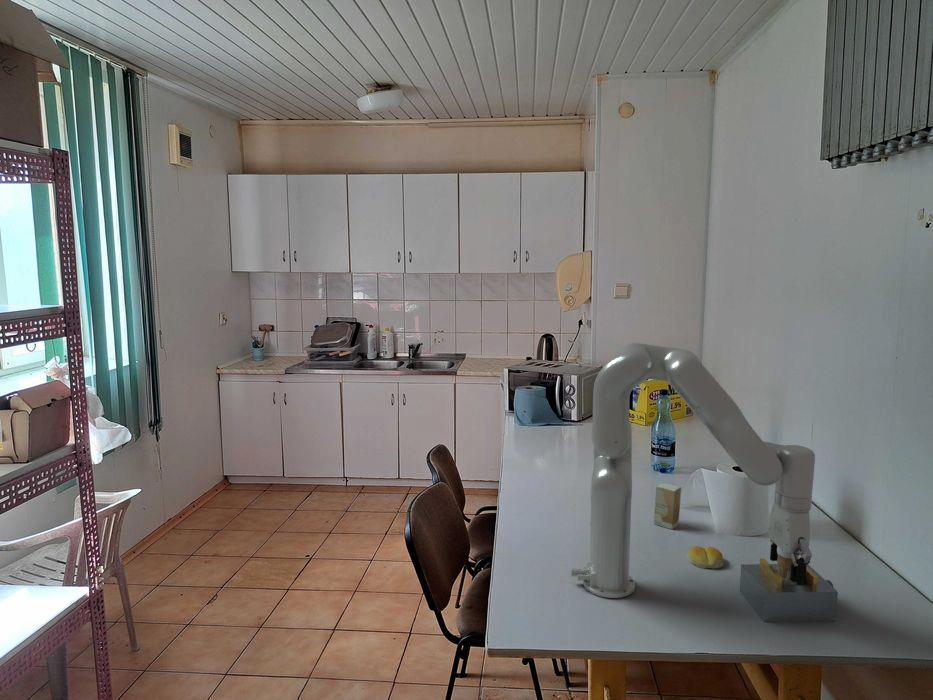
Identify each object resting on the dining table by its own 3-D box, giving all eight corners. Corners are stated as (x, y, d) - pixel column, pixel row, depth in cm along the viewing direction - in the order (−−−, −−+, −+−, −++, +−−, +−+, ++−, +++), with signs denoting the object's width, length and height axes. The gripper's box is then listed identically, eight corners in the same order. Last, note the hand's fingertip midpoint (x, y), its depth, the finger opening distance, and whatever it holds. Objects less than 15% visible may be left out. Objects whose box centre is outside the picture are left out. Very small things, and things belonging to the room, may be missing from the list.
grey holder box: (763, 621, 146) (766, 582, 145) (739, 591, 159) (741, 554, 158) (844, 620, 146) (847, 581, 145) (813, 590, 159) (816, 553, 158)
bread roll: (685, 553, 179) (686, 540, 179) (720, 557, 177) (721, 543, 176) (688, 568, 171) (689, 553, 171) (725, 571, 169) (725, 557, 169)
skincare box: (653, 524, 198) (654, 485, 196) (659, 519, 201) (661, 481, 199) (673, 530, 193) (674, 490, 192) (679, 525, 197) (681, 486, 195)
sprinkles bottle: (770, 595, 154) (773, 542, 152) (788, 593, 155) (791, 540, 152) (782, 606, 150) (785, 552, 147) (800, 603, 150) (803, 549, 148)
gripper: (759, 486, 157) (754, 553, 160) (795, 515, 140) (789, 590, 143) (790, 486, 157) (785, 553, 160) (830, 515, 140) (823, 590, 143)
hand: (786, 570), depth 151 cm, fingers open, 9 cm apart
